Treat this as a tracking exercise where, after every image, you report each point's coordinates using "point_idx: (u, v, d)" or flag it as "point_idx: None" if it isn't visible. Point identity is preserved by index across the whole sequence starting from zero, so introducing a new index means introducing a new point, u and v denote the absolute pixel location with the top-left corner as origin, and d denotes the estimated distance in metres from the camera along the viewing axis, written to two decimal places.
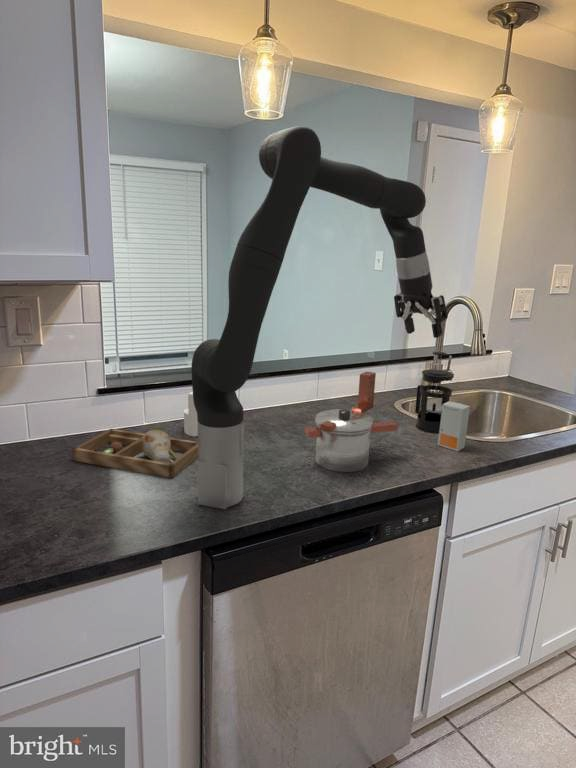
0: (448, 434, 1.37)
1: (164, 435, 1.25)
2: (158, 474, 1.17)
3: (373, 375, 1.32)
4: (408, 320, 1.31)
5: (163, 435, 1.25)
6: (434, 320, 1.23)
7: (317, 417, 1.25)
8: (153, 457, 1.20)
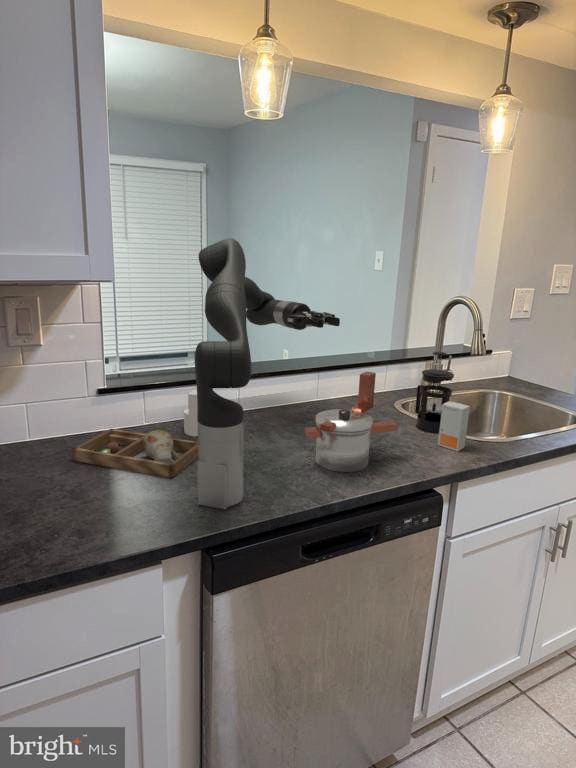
0: (448, 434, 1.37)
1: (167, 435, 1.25)
2: (158, 474, 1.17)
3: (373, 375, 1.32)
4: None
5: (166, 435, 1.25)
6: None
7: (317, 417, 1.25)
8: (155, 457, 1.20)
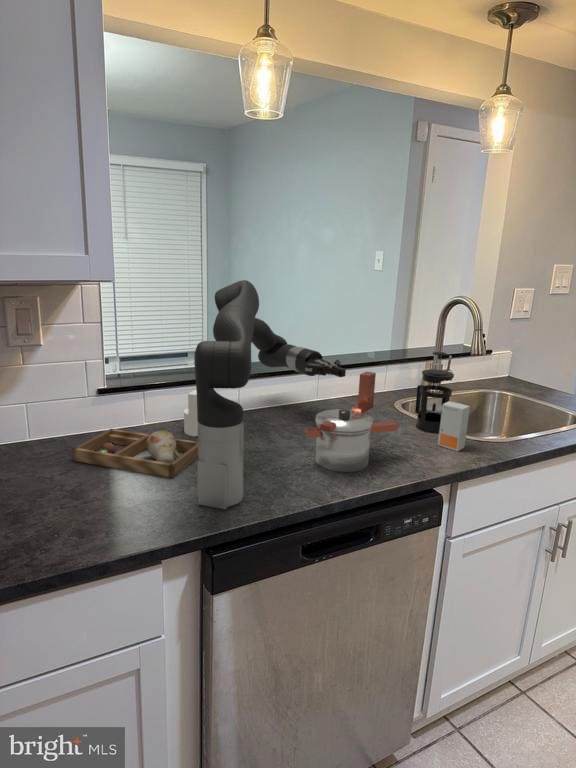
0: (448, 434, 1.37)
1: (170, 436, 1.25)
2: (158, 474, 1.17)
3: (373, 375, 1.32)
4: None
5: (168, 436, 1.24)
6: None
7: (317, 417, 1.25)
8: (157, 458, 1.20)
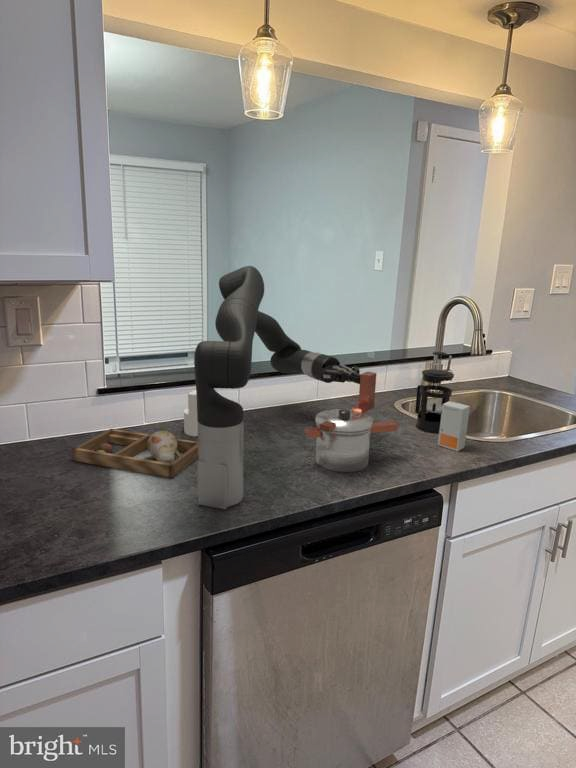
0: (448, 434, 1.37)
1: (171, 436, 1.24)
2: (158, 474, 1.17)
3: (374, 375, 1.32)
4: None
5: (169, 437, 1.24)
6: None
7: (318, 417, 1.25)
8: (158, 458, 1.20)
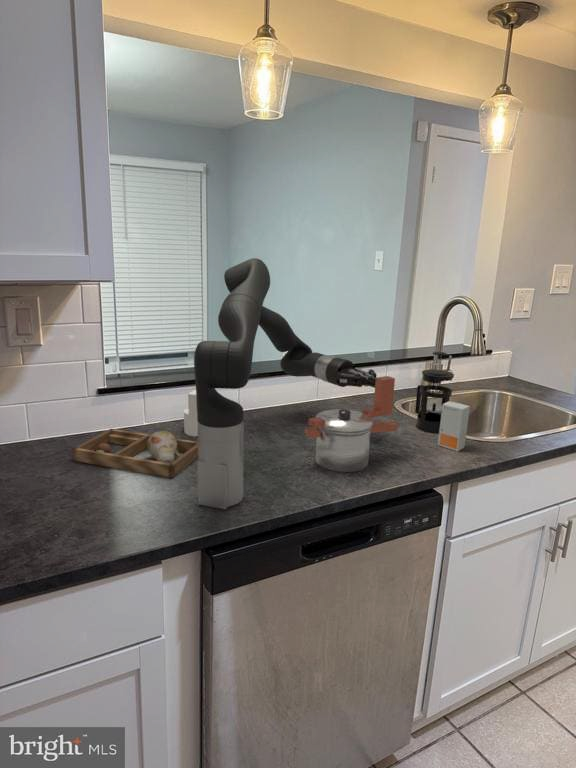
0: (448, 434, 1.37)
1: (171, 436, 1.24)
2: (158, 474, 1.17)
3: (390, 380, 1.28)
4: None
5: (169, 437, 1.24)
6: None
7: (320, 413, 1.28)
8: (158, 459, 1.20)
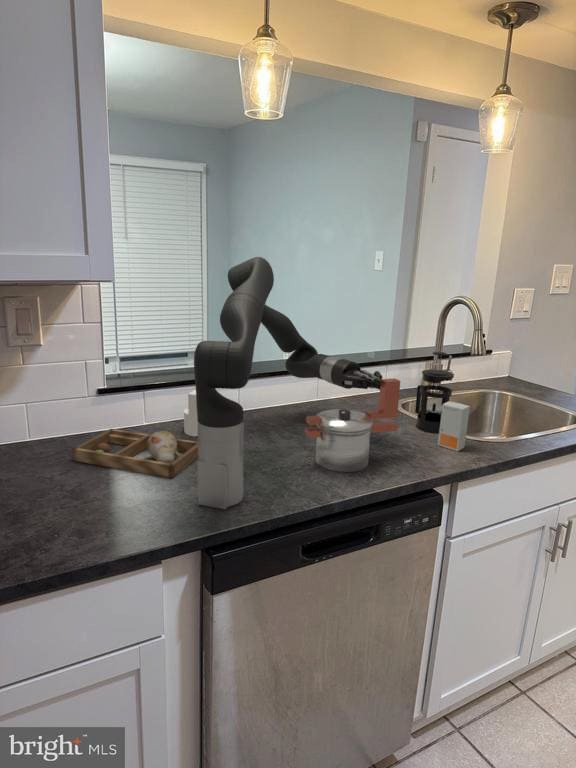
0: (448, 434, 1.37)
1: (171, 436, 1.24)
2: (158, 474, 1.17)
3: (395, 382, 1.26)
4: None
5: (169, 437, 1.24)
6: None
7: (322, 412, 1.29)
8: (157, 459, 1.20)
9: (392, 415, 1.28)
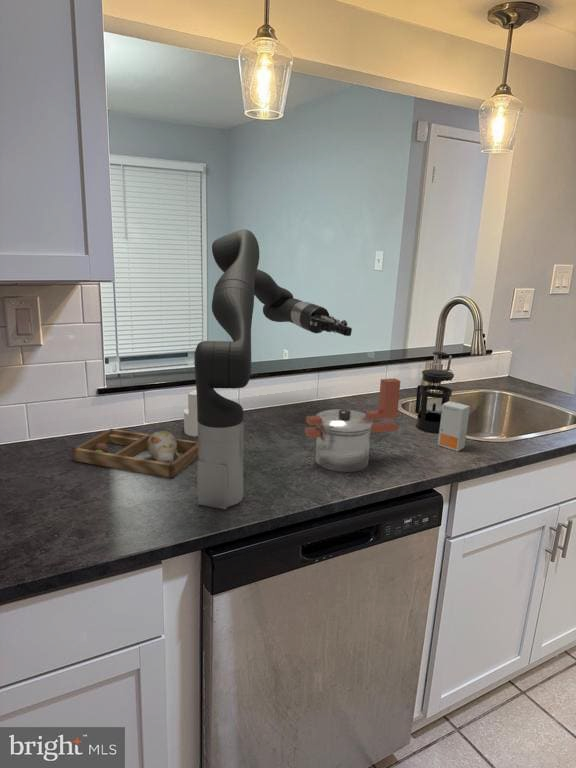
0: (448, 434, 1.37)
1: (170, 437, 1.24)
2: (158, 474, 1.17)
3: (395, 383, 1.26)
4: None
5: (169, 437, 1.24)
6: None
7: (322, 412, 1.29)
8: (157, 459, 1.19)
9: (392, 415, 1.28)
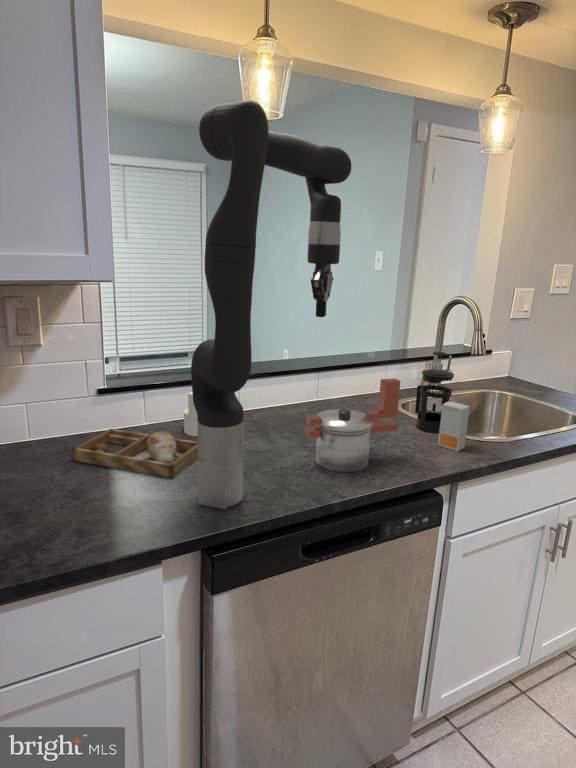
0: (448, 434, 1.37)
1: (170, 437, 1.24)
2: (158, 474, 1.17)
3: (395, 383, 1.26)
4: None
5: (168, 437, 1.23)
6: None
7: (322, 412, 1.29)
8: (157, 459, 1.19)
9: (392, 415, 1.28)
